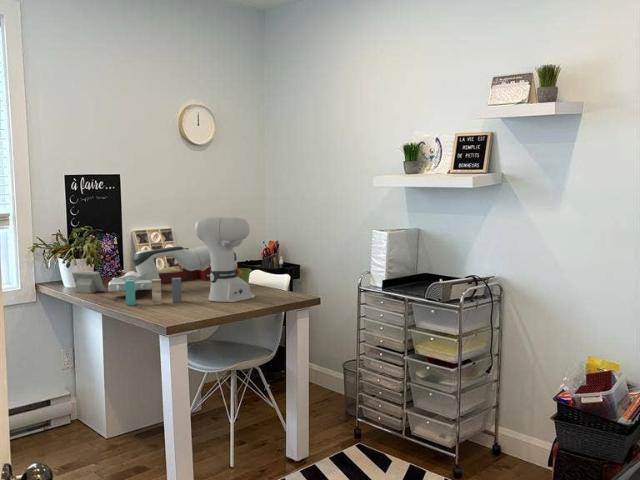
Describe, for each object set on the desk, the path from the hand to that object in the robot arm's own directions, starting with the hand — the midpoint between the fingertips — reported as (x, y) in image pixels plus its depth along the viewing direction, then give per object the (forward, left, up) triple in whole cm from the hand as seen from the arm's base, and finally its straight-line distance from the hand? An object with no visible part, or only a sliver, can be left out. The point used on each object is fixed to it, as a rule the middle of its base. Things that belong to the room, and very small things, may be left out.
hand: (130, 288), depth 290 cm
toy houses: (-38, -35, -6) cm, 52 cm away
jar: (-32, -61, -6) cm, 69 cm away
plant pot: (-61, -1, -6) cm, 61 cm away
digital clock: (+8, -36, -6) cm, 37 cm away
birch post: (-7, +14, -6) cm, 17 cm away
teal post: (+3, +8, -6) cm, 10 cm away
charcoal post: (-16, +16, -6) cm, 23 cm away
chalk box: (-57, -63, -6) cm, 85 cm away
